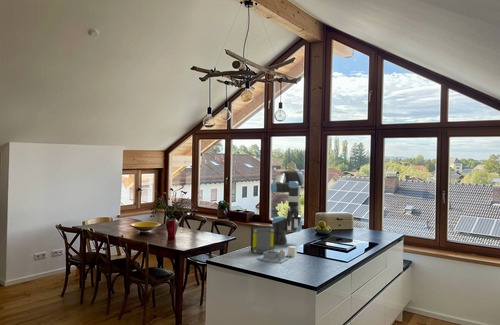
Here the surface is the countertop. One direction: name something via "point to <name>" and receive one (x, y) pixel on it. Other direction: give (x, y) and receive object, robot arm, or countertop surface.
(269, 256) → the header board
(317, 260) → the countertop surface
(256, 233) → the electrical component
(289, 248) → the plug
